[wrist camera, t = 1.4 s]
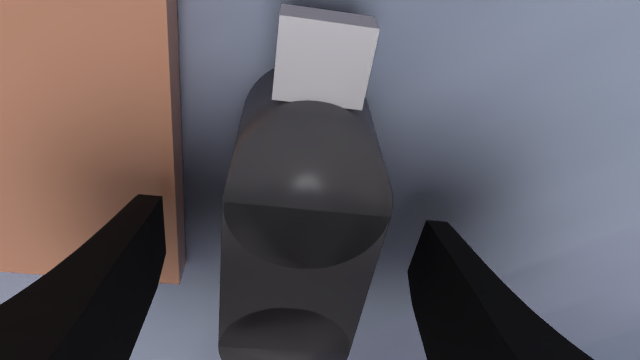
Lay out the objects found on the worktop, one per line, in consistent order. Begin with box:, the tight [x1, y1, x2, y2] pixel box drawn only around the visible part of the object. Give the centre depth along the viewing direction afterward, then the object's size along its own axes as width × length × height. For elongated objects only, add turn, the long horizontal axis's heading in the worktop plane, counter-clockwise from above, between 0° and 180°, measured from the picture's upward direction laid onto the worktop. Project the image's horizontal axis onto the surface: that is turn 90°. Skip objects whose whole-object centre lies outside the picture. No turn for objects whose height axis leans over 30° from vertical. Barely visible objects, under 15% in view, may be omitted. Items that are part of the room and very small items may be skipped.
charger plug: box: [218, 3, 393, 360], centre depth 12 cm, size 10×4×4 cm, turn 172°
